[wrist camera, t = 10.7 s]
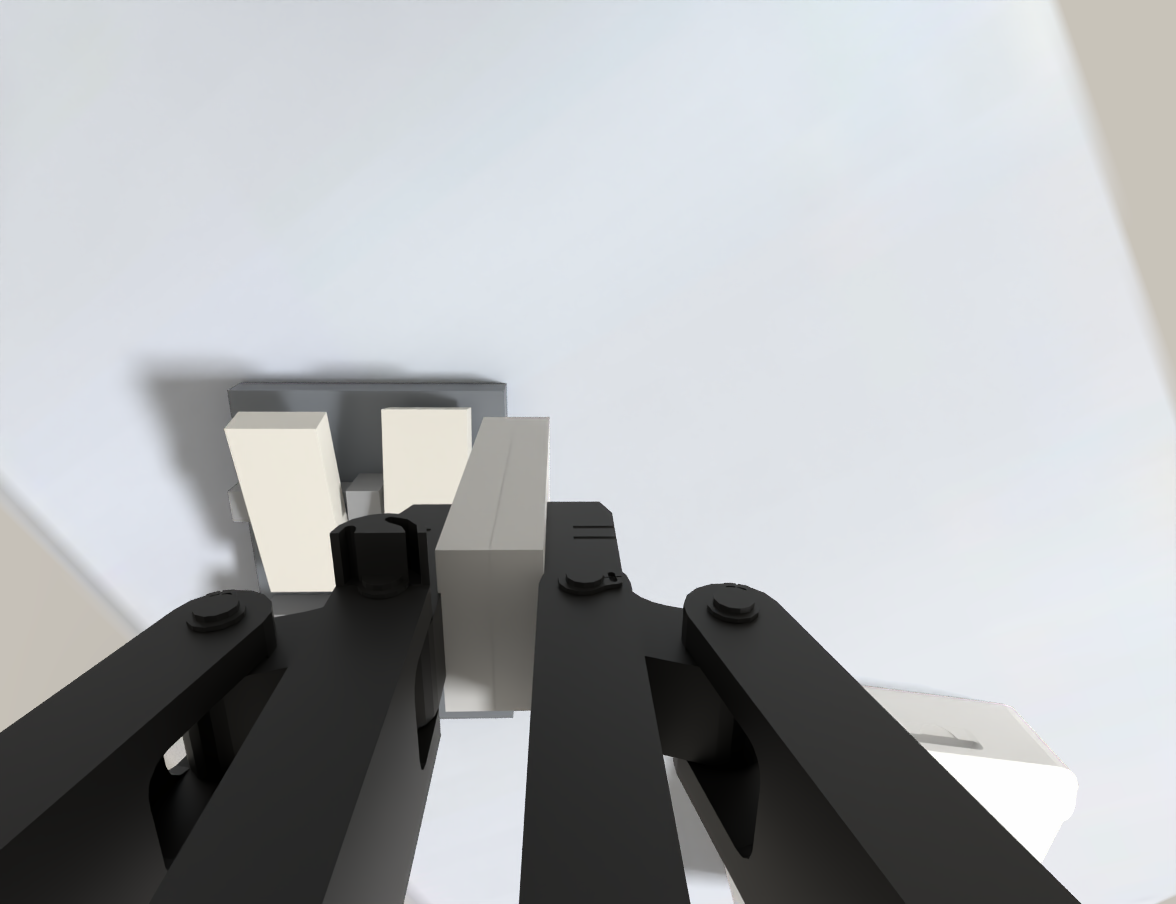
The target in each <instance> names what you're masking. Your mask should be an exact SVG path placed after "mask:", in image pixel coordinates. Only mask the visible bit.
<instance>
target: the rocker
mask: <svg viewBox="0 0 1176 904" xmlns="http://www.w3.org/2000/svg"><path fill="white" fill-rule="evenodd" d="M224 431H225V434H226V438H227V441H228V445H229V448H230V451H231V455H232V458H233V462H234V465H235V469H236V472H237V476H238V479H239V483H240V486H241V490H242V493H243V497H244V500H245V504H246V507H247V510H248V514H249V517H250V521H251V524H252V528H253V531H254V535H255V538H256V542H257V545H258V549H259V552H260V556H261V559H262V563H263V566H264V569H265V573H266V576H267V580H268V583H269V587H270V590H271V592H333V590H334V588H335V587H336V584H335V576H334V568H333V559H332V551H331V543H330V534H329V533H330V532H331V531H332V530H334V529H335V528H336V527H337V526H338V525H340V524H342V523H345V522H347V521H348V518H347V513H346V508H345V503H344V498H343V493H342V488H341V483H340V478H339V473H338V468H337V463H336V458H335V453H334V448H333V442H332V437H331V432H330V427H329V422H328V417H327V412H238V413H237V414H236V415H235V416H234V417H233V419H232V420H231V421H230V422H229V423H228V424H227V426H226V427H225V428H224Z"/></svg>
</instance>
